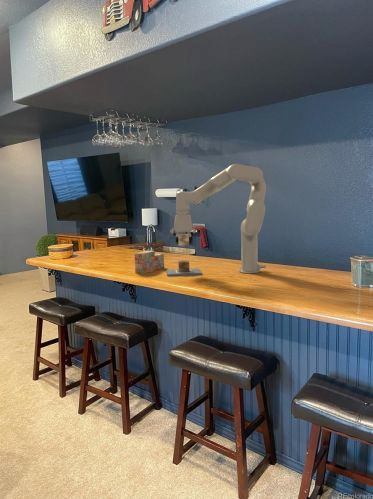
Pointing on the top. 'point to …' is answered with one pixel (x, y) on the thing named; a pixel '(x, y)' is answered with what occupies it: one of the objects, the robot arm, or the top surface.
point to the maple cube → (183, 239)
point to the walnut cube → (183, 266)
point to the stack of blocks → (148, 261)
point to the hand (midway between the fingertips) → (183, 243)
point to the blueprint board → (176, 272)
